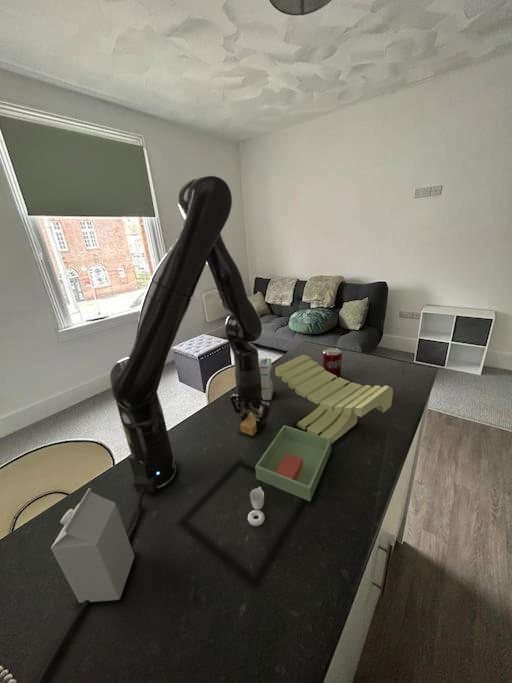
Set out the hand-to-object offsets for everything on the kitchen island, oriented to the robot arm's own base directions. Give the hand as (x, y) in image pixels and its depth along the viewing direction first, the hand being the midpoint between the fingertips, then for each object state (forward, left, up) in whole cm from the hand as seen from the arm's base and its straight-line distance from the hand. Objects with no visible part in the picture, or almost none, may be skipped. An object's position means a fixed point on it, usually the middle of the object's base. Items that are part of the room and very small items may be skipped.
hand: (252, 426), depth 88 cm
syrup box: (+18, +5, -1) cm, 19 cm away
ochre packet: (0, 0, -1) cm, 1 cm away
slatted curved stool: (+12, -21, -1) cm, 24 cm away
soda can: (+41, -14, -1) cm, 43 cm away
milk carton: (-48, +3, -1) cm, 48 cm away
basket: (-8, -18, -1) cm, 20 cm away
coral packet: (-12, -18, 0) cm, 22 cm away
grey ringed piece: (-25, -13, -1) cm, 28 cm away
